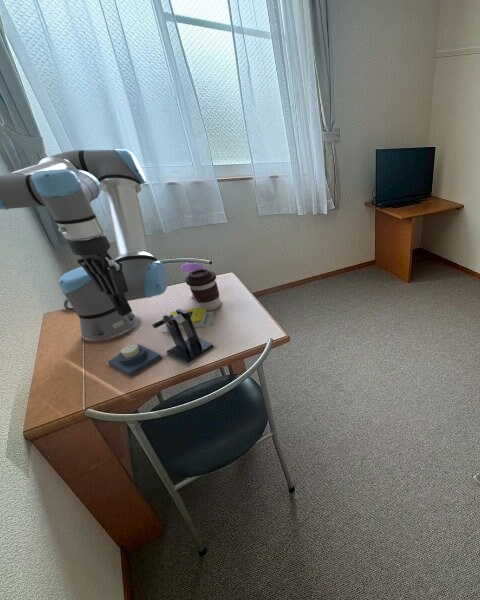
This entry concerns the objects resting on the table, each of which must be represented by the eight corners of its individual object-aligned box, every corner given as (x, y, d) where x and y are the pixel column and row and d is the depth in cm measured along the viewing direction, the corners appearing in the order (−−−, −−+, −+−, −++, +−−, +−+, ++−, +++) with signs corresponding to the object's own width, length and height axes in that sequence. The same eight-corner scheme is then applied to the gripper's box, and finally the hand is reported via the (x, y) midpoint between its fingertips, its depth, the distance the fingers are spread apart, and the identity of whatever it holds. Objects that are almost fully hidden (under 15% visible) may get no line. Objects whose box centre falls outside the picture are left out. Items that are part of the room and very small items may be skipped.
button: (121, 355, 96) (117, 350, 95) (135, 348, 99) (132, 342, 98) (128, 359, 95) (125, 354, 94) (142, 351, 98) (140, 346, 97)
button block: (110, 365, 97) (104, 356, 95) (141, 348, 104) (136, 339, 102) (131, 377, 93) (126, 368, 91) (162, 359, 100) (157, 349, 98)
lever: (155, 329, 101) (150, 323, 100) (173, 320, 105) (169, 313, 104) (172, 327, 94) (167, 320, 93) (191, 317, 99) (186, 310, 98)
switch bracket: (167, 354, 102) (149, 317, 94) (194, 339, 109) (179, 303, 101) (188, 364, 98) (171, 326, 91) (214, 348, 105) (200, 311, 98)
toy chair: (217, 286, 139) (207, 255, 131) (210, 297, 132) (199, 264, 124) (197, 287, 138) (186, 256, 130) (189, 298, 131) (176, 265, 123)
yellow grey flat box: (165, 309, 116) (210, 303, 120) (169, 319, 118) (214, 312, 123) (157, 323, 109) (206, 316, 113) (162, 334, 111) (210, 326, 115)
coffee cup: (191, 307, 125) (178, 273, 117) (216, 297, 132) (205, 264, 124) (204, 316, 120) (192, 281, 112) (229, 305, 127) (219, 271, 119)
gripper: (49, 238, 78) (95, 316, 91) (88, 244, 75) (130, 324, 88) (82, 228, 84) (121, 302, 97) (119, 234, 81) (155, 310, 94)
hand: (125, 313), depth 92 cm, fingers closed
